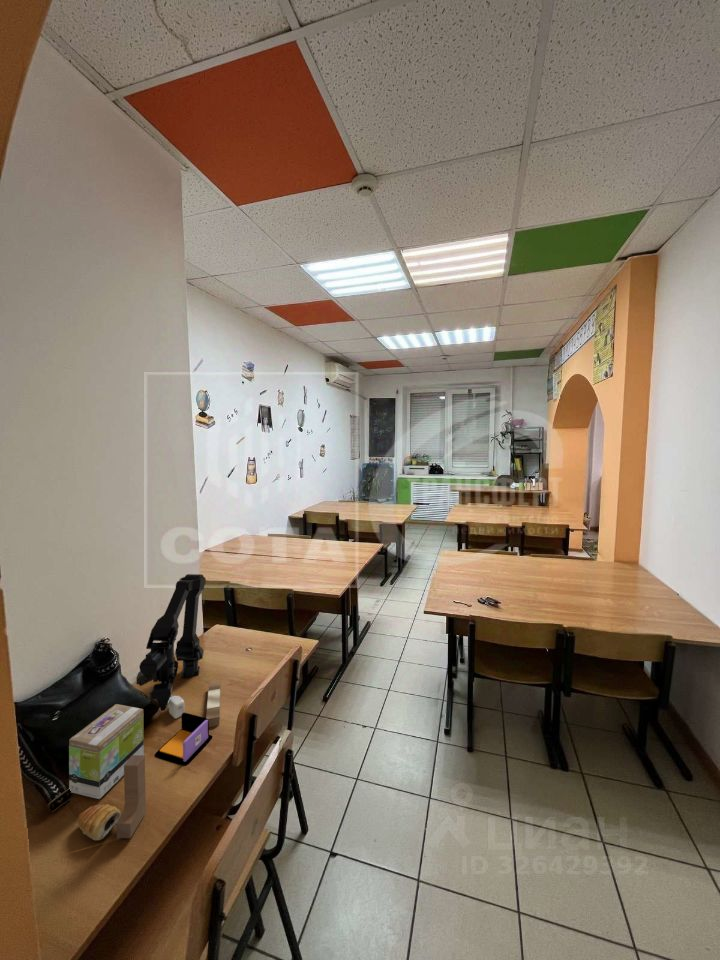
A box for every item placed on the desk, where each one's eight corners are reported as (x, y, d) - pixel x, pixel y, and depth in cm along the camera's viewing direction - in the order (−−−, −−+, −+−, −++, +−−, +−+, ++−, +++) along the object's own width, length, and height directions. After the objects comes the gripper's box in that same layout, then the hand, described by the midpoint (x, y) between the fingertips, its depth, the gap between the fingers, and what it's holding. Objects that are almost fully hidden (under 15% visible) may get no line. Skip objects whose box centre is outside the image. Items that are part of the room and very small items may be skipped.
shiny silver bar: (209, 691, 141) (208, 682, 141) (220, 689, 143) (220, 680, 142) (206, 728, 122) (206, 718, 122) (219, 725, 124) (219, 716, 124)
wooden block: (133, 811, 94) (131, 754, 93) (146, 811, 94) (145, 754, 93) (116, 838, 87) (114, 777, 86) (130, 838, 87) (128, 777, 86)
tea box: (100, 801, 97) (99, 746, 96) (68, 793, 99) (66, 739, 98) (145, 755, 111) (144, 707, 110) (116, 749, 113) (114, 702, 112)
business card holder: (214, 737, 119) (214, 717, 118) (186, 767, 107) (185, 745, 107) (183, 728, 122) (182, 708, 122) (152, 757, 111) (152, 735, 110)
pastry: (68, 832, 88) (67, 817, 88) (96, 805, 95) (95, 791, 94) (99, 844, 86) (98, 829, 85) (125, 816, 92) (124, 802, 92)
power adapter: (160, 707, 132) (160, 693, 131) (173, 701, 135) (173, 687, 135) (173, 721, 125) (173, 706, 125) (186, 714, 129) (186, 699, 128)
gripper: (144, 649, 138) (145, 690, 139) (131, 678, 120) (132, 724, 121) (178, 644, 141) (178, 685, 142) (170, 672, 124) (170, 718, 125)
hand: (165, 702), depth 133 cm, fingers open, 9 cm apart
